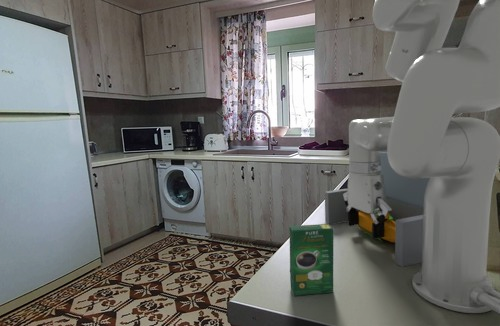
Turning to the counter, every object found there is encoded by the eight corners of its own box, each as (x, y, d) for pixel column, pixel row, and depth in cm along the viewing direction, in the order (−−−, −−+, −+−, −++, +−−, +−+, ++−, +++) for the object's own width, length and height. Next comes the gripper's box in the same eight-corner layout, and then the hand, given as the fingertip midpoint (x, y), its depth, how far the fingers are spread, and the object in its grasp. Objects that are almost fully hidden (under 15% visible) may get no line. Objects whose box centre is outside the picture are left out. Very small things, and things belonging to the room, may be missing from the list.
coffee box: (330, 285, 58) (328, 221, 57) (335, 293, 56) (334, 227, 54) (290, 288, 58) (287, 225, 56) (293, 297, 55) (290, 230, 53)
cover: (446, 214, 65) (449, 214, 66) (451, 160, 64) (455, 160, 64) (357, 187, 95) (360, 186, 95) (359, 150, 93) (362, 149, 94)
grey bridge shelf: (444, 256, 67) (446, 214, 65) (402, 267, 63) (402, 222, 62) (357, 216, 96) (357, 187, 95) (325, 222, 93) (324, 191, 91)
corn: (369, 199, 88) (424, 220, 69) (371, 223, 89) (425, 250, 70) (347, 204, 86) (397, 227, 67) (349, 228, 87) (399, 258, 68)
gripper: (403, 170, 68) (402, 240, 71) (355, 162, 85) (356, 219, 87) (376, 174, 66) (376, 246, 69) (332, 164, 83) (334, 223, 85)
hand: (365, 231), depth 78 cm, fingers open, 9 cm apart
